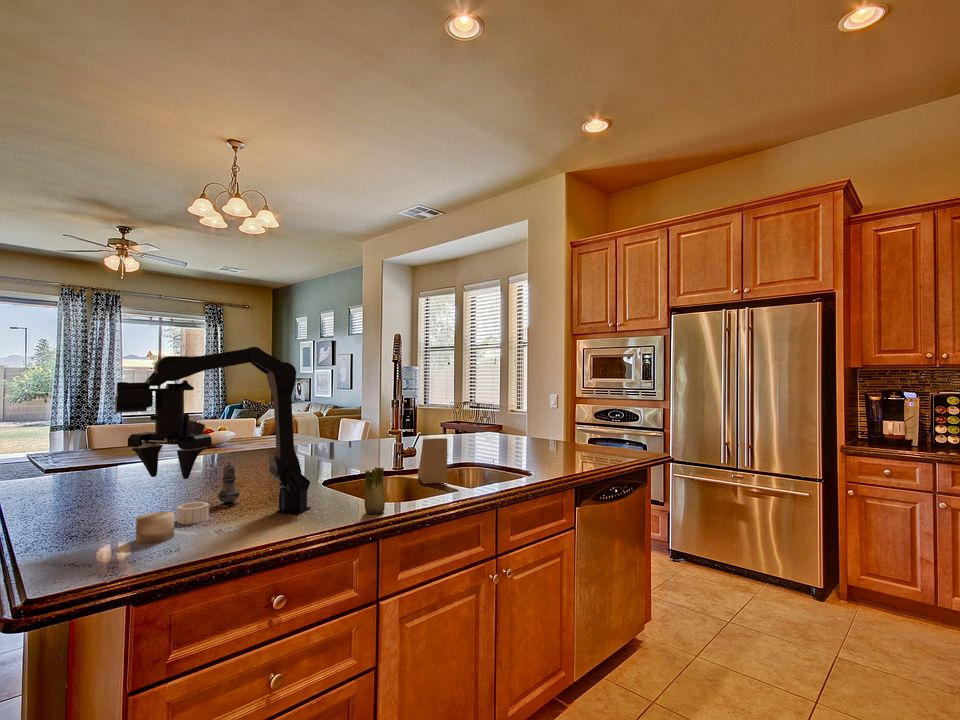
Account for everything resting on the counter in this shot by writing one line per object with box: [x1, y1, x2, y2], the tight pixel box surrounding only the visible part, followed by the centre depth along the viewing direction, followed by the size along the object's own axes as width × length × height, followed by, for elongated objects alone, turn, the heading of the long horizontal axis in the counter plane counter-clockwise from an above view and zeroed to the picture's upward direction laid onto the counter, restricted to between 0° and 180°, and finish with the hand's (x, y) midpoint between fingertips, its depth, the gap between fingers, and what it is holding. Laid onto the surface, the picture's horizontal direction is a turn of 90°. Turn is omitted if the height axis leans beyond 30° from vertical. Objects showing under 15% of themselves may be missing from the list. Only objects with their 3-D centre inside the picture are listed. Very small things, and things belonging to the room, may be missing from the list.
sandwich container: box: [417, 437, 449, 485], centre depth 177 cm, size 9×15×15 cm, turn 14°
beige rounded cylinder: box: [135, 511, 175, 545], centre depth 110 cm, size 7×7×5 cm
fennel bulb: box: [363, 466, 386, 515], centre depth 133 cm, size 6×5×12 cm
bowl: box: [176, 501, 210, 525], centre depth 125 cm, size 7×7×4 cm
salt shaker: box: [216, 461, 241, 508], centre depth 140 cm, size 6×6×12 cm
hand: (169, 477), depth 116 cm, fingers open, 9 cm apart
